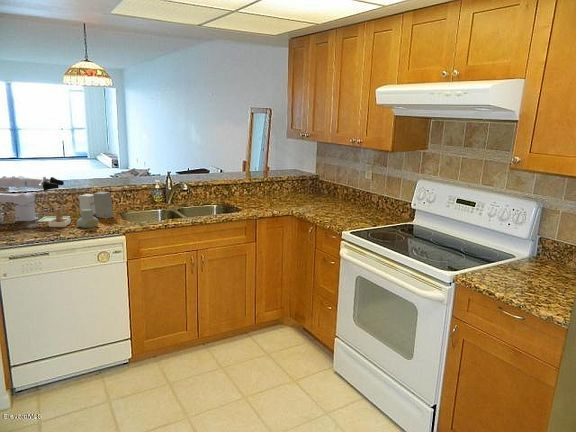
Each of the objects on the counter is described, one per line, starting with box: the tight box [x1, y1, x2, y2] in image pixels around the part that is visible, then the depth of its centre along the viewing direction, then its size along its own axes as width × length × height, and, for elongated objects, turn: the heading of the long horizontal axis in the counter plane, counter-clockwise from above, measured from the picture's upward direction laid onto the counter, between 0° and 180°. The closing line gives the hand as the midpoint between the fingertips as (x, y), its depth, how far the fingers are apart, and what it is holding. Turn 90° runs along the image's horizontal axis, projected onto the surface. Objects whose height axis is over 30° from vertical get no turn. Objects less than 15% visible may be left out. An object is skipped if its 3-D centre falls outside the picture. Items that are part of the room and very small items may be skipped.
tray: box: [36, 215, 71, 223], centre depth 250 cm, size 14×12×1 cm
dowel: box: [55, 207, 63, 222], centre depth 238 cm, size 3×3×9 cm
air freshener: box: [76, 209, 99, 229], centre depth 237 cm, size 11×8×10 cm
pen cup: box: [47, 218, 72, 228], centre depth 239 cm, size 9×9×3 cm
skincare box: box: [93, 190, 114, 220], centre depth 259 cm, size 8×7×16 cm
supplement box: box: [78, 193, 96, 216], centre depth 265 cm, size 7×7×13 cm
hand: (60, 184), depth 247 cm, fingers open, 7 cm apart
